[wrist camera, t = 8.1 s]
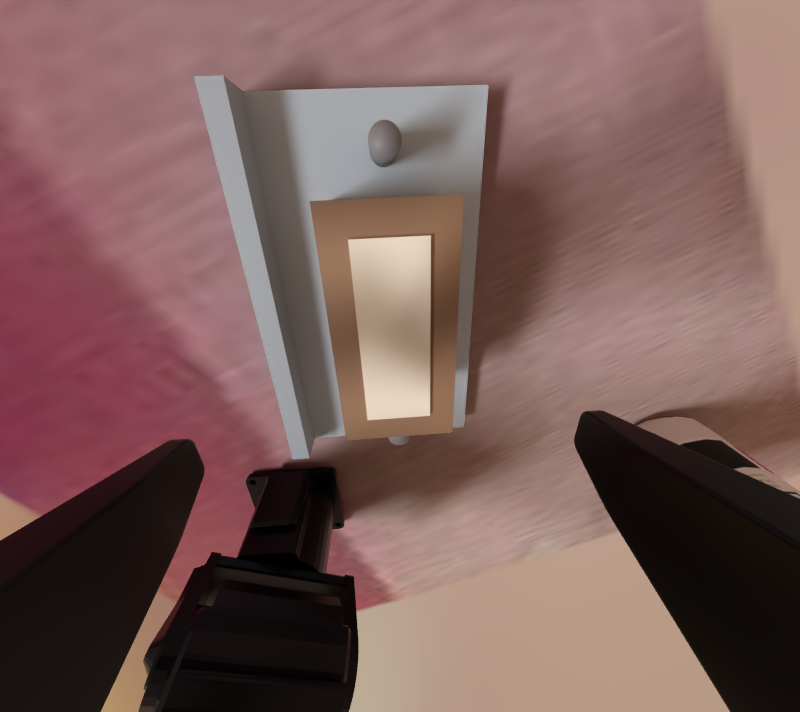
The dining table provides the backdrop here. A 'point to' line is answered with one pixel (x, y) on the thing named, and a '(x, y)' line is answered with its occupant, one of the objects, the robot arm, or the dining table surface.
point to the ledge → (334, 180)
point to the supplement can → (713, 448)
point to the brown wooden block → (392, 309)
